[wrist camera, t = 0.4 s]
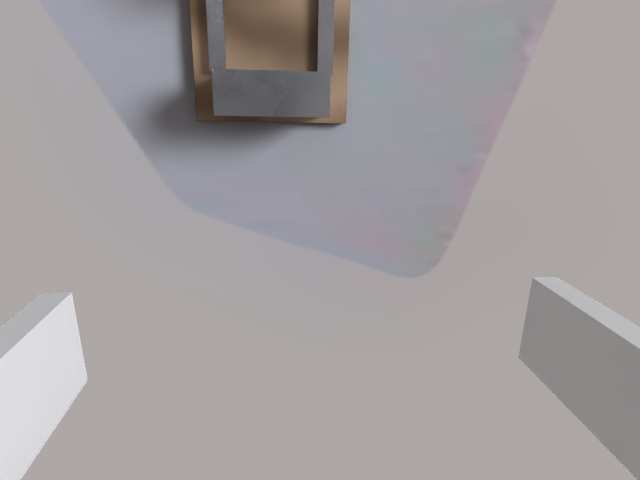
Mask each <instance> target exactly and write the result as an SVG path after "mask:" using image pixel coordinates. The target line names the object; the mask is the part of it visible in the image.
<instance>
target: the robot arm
mask: <svg viewBox="0 0 640 480" xmlns="http://www.w3.org/2000/svg"><path fill="white" fill-rule="evenodd" d="M519 358H520V359H521V360H522V361H523V362H524V363H525V365H526V366H528V368H529V369H530V370H531V371H532V372H533V373H534V374H535V375H536V376H537V377H539V379H540V380H541V381H542V382H543V383H544V384H545V385H546V386H547V387H548V388H549V389H550V390H551V391H552V392H553V393H554V394H555V395H556V396H557V397H558V398H559V399H560V400H561V401H562V403H563V404H564V405H565V406H566V407H567V408H568V409H569V410H571V412H572V413H573V414H574V415H575V416H576V417H577V418H578V419H579V420H580V421H581V422H582V423H583V424H584V425H585V426H586V427H587V428H588V429H589V430H590V431H591V432H592V433H593V434H594V435H595V436H596V437H597V438H598V439H599V440H600V442H602V444H603V445H604V446H605V447H607V449H608V450H609V451H610V452H611V453H612V454H613V455H614V456H615V457H616V458H617V459H618V460H619V461H620V462H621V463H622V464H623V465H624V466H625V467H626V468H627V469H628V470H629V471H630V472H631V473H632V474H633V475H634V476H635V477H636V478H637V480H640V327H638V326H637V325H635V324H633V323H632V322H630V321H628V320H627V319H625V318H623V317H622V316H620V315H619V314H617V313H615V312H614V311H612V310H610V309H609V308H607V307H605V306H604V305H602V304H600V303H599V302H597V301H595V300H594V299H592V298H591V297H589V296H587V295H586V294H584V293H582V292H581V291H579V290H577V289H576V288H574V287H572V286H571V285H569V284H567V283H566V282H564V281H562V280H561V279H559V278H558V277H538V278H533V279H532V284H531V290H530V296H529V301H528V307H527V313H526V318H525V324H524V330H523V335H522V341H521V347H520V352H519ZM86 382H87V374H86V369H85V364H84V358H83V352H82V347H81V341H80V336H79V330H78V325H77V319H76V314H75V308H74V303H73V297H72V293H71V292H70V293H42V294H40V295H39V296H38V297H36V298H35V299H34V300H33V301H31V302H30V303H29V304H28V305H27V306H25V307H24V308H23V309H22V310H20V311H19V312H18V313H17V314H16V315H14V316H13V317H12V318H11V319H9V320H8V321H7V322H6V323H4V324H3V325H2V326H1V327H0V480H21V478H22V477H23V475H24V474H25V472H26V470H27V469H28V468H29V466H30V465H31V463H32V462H33V460H34V459H35V457H36V456H37V454H38V453H39V451H40V450H41V448H42V447H43V446H44V444H45V443H46V441H47V439H48V438H49V437H50V435H51V434H52V432H53V431H54V429H55V428H56V426H57V425H58V423H59V422H60V420H61V419H62V417H63V416H64V414H65V413H66V411H67V410H68V408H69V407H70V405H71V404H72V402H73V401H74V399H75V398H76V396H77V395H78V394H79V392H80V391H81V389H82V388H83V386H84V384H85V383H86Z"/></svg>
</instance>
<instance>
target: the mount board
mask: <svg viewBox="0 0 640 480" xmlns="http://www.w3.org/2000/svg"><path fill="white" fill-rule="evenodd" d="M189 3H190V19H191V35H192V51H193V67H194V82H195V98H196V114H197V121H242V122H299V123H346V102H347V74H348V47H349V19H350V0H335V8H334V45H333V76H331V83H330V118H320V117H267V116H214V107H213V88H212V73H211V72H210V70H209V51H208V32H207V13H206V0H189ZM317 7H318V0H224V17H225V41H226V65H227V69H245V70H278V71H311V72H316V69H317Z"/></svg>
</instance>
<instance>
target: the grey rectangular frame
mask: <svg viewBox="0 0 640 480" xmlns="http://www.w3.org/2000/svg"><path fill="white" fill-rule="evenodd" d="M334 8H335V0H318V7H317V69H316V72H311V71H278V70H245V69H227V65H226V41H225V17H224V0H206V13H207V32H208V51H209V70H210V72H211V73H212V88H213V107H214V116H267V117H320V118H330V83H331V76H333V45H334Z"/></svg>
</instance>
